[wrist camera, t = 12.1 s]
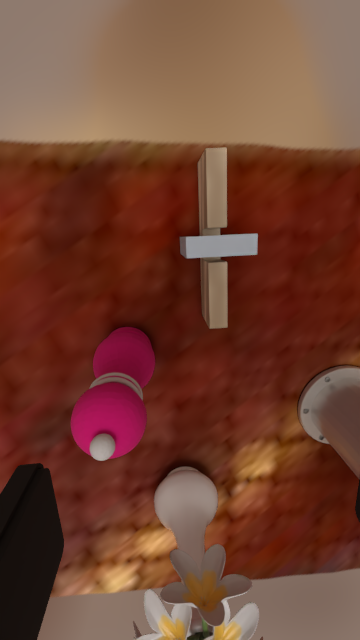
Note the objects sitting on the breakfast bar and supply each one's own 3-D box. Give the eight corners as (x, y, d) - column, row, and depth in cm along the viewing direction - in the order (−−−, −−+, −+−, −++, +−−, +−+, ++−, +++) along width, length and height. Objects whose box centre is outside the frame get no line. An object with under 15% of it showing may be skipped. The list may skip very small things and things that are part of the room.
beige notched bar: (214, 162, 34) (226, 147, 28) (217, 313, 39) (227, 327, 33) (197, 163, 34) (205, 148, 28) (202, 314, 39) (209, 328, 33)
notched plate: (236, 250, 37) (257, 254, 29) (180, 253, 37) (186, 258, 29) (236, 234, 36) (257, 233, 29) (179, 236, 36) (185, 237, 28)
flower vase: (214, 420, 43) (284, 648, 19) (229, 515, 48) (299, 789, 24) (126, 437, 43) (86, 690, 19) (151, 531, 48) (144, 824, 24)
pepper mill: (90, 335, 39) (24, 434, 19) (141, 314, 38) (125, 392, 19) (115, 381, 41) (77, 512, 21) (164, 361, 40) (170, 474, 21)
